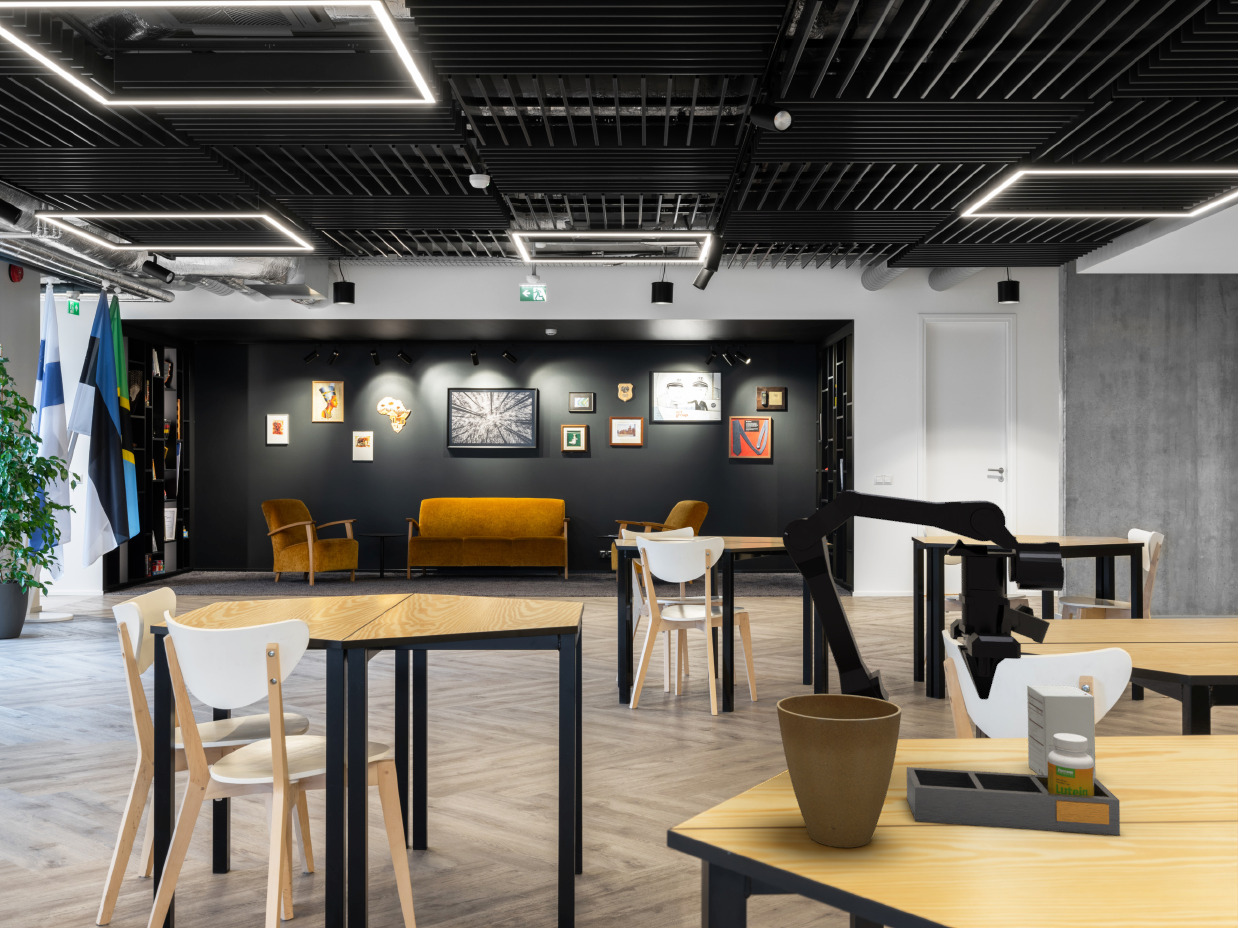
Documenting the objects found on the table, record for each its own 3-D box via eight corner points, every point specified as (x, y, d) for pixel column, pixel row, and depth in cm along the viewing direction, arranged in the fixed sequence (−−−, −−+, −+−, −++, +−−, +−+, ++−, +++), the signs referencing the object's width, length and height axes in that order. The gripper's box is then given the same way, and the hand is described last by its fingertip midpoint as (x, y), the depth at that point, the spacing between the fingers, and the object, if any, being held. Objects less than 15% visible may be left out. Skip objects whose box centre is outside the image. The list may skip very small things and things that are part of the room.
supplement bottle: (1051, 817, 117) (1050, 740, 117) (1045, 803, 122) (1044, 730, 122) (1098, 822, 115) (1097, 743, 116) (1090, 808, 120) (1089, 733, 121)
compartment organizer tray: (915, 821, 118) (915, 787, 118) (906, 798, 127) (906, 766, 127) (1120, 836, 113) (1120, 800, 113) (1096, 810, 122) (1096, 778, 122)
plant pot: (914, 828, 115) (914, 700, 116) (883, 870, 102) (883, 725, 103) (800, 807, 123) (800, 687, 123) (758, 843, 110) (758, 709, 110)
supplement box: (1076, 767, 142) (1075, 685, 142) (1096, 782, 134) (1095, 695, 135) (1026, 766, 142) (1026, 684, 143) (1044, 781, 135) (1043, 694, 136)
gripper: (1061, 596, 120) (1063, 717, 120) (1026, 583, 139) (1027, 688, 138) (972, 594, 122) (972, 712, 122) (949, 581, 141) (950, 684, 140)
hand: (983, 698), depth 130 cm, fingers closed
